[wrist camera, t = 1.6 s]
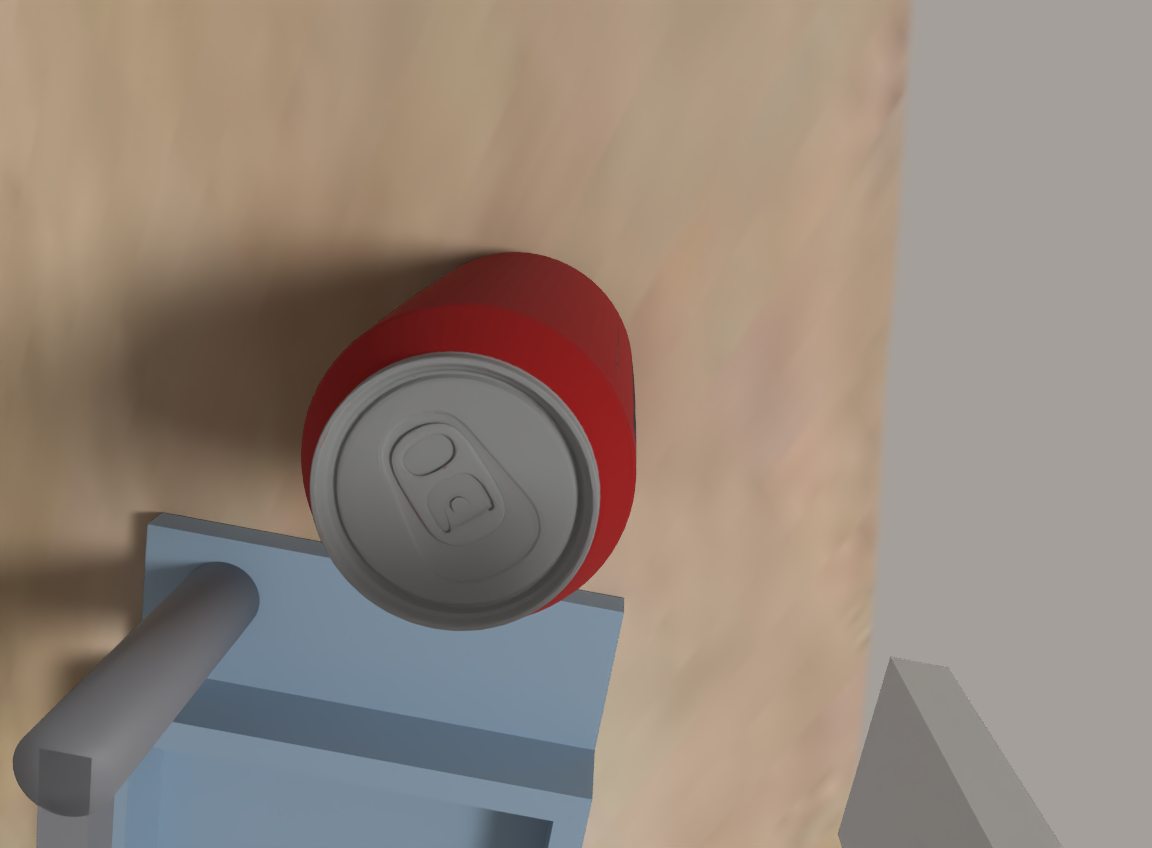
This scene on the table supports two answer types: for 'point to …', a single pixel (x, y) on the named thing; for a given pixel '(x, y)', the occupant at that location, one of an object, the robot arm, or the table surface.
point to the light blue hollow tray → (318, 714)
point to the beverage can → (477, 445)
